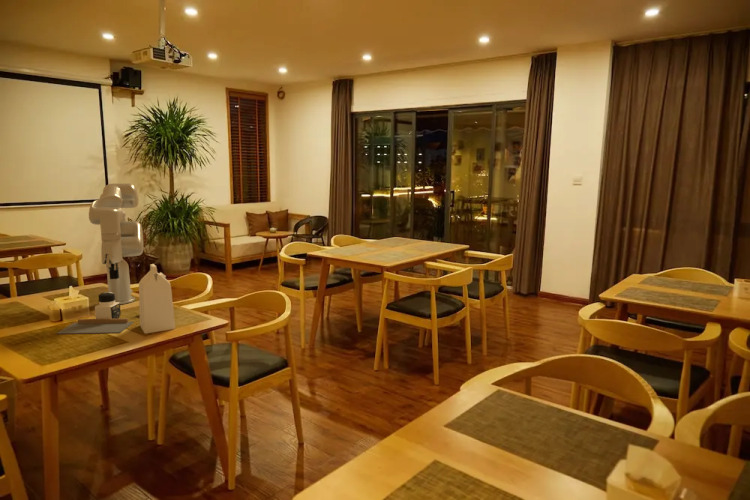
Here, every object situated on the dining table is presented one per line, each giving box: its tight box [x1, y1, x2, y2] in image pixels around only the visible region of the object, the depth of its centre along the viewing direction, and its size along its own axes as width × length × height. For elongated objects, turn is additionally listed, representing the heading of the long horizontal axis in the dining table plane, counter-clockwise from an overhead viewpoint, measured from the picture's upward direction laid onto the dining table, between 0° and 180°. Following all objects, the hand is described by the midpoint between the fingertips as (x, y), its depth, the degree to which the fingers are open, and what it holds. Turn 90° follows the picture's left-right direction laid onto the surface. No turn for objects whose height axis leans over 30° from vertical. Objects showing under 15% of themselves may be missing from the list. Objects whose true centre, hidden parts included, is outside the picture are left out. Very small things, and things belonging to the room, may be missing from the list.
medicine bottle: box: [94, 291, 122, 319], centre depth 210 cm, size 7×7×12 cm
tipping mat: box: [56, 317, 134, 335], centre depth 200 cm, size 13×24×2 cm, turn 94°
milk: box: [138, 263, 176, 334], centre depth 201 cm, size 12×12×26 cm
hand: (114, 278), depth 216 cm, fingers closed
